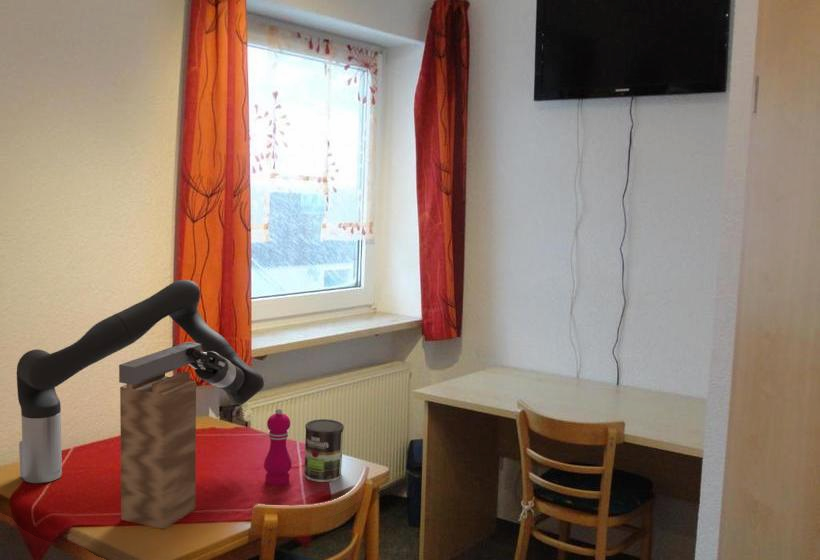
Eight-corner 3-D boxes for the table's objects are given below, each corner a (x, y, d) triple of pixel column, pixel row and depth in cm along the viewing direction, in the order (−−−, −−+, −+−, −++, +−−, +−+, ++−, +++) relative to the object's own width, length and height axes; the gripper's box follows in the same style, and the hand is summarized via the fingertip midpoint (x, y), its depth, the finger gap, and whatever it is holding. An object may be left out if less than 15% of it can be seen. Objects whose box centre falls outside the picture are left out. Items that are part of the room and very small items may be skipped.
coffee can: (331, 485, 217) (332, 434, 215) (296, 477, 221) (298, 427, 219) (348, 472, 227) (350, 422, 224) (315, 465, 230) (316, 416, 228)
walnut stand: (121, 519, 192) (120, 378, 187) (153, 499, 203) (153, 366, 198) (164, 529, 188) (164, 385, 183) (195, 509, 199) (196, 373, 194)
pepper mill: (285, 487, 214) (287, 413, 211) (259, 484, 216) (260, 410, 212) (294, 477, 221) (296, 405, 218) (269, 473, 223) (271, 402, 219)
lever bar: (119, 382, 181) (119, 364, 180) (187, 357, 204) (187, 341, 203) (134, 385, 179) (134, 367, 179) (201, 359, 202) (201, 343, 202)
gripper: (196, 352, 216) (161, 331, 201) (243, 359, 211) (211, 338, 196) (188, 379, 214) (151, 360, 199) (235, 387, 209) (201, 368, 194)
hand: (181, 349), depth 198 cm, fingers closed on lever bar, 4 cm apart
